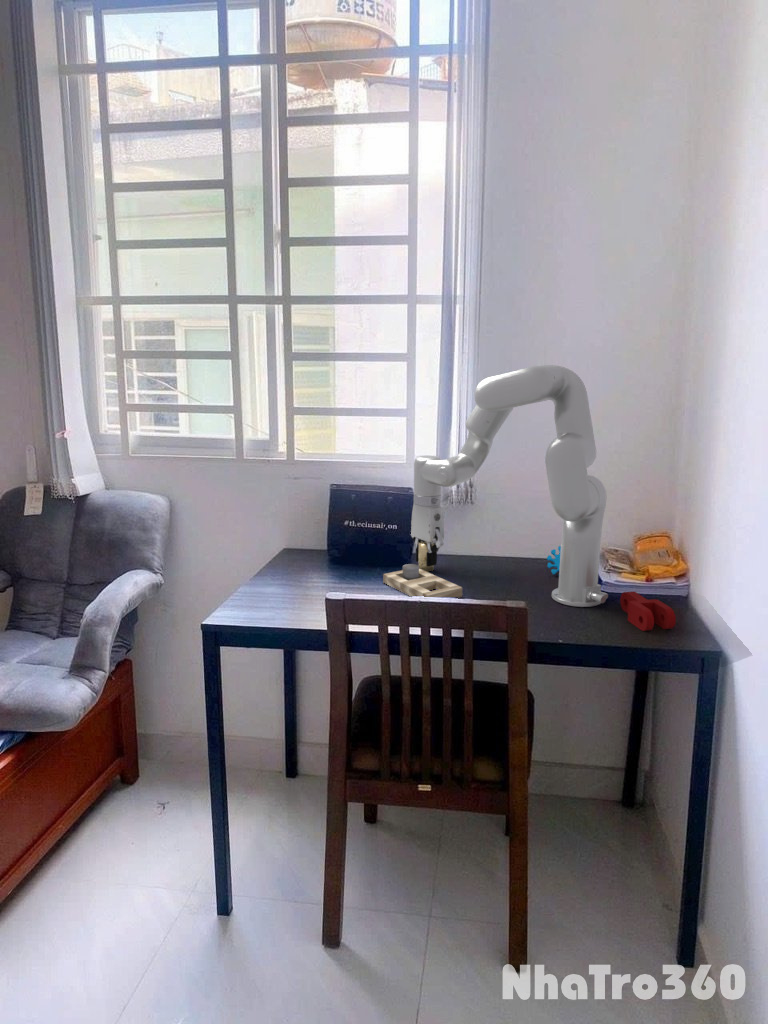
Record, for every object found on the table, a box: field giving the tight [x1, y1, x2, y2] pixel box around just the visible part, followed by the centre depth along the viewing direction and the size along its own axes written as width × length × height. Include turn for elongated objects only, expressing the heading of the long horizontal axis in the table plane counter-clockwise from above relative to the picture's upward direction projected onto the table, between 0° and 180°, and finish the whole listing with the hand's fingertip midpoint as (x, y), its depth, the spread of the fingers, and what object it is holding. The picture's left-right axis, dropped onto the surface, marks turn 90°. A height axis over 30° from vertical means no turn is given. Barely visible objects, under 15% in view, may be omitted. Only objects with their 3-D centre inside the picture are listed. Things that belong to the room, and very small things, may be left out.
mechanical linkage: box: [619, 591, 677, 632], centre depth 172 cm, size 16×7×5 cm, turn 12°
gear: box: [546, 545, 561, 576], centre depth 206 cm, size 11×6×10 cm
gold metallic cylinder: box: [417, 541, 435, 573], centre depth 208 cm, size 4×4×8 cm
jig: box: [382, 563, 463, 599], centre depth 192 cm, size 20×11×5 cm, turn 33°
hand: (426, 562), depth 208 cm, fingers closed on gold metallic cylinder, 4 cm apart
